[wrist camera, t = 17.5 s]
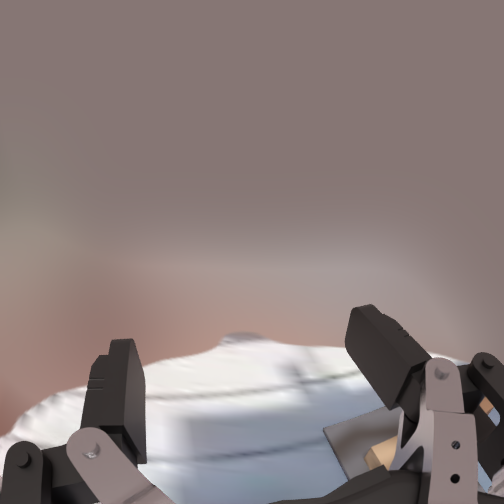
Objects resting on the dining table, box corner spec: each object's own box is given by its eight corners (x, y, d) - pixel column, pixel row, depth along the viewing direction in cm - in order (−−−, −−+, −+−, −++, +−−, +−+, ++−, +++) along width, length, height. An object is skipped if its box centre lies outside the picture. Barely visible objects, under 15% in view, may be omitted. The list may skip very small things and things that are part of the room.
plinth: (487, 500, 18) (504, 488, 16) (394, 566, 15) (409, 561, 13) (410, 396, 39) (418, 380, 38) (322, 430, 36) (327, 414, 34)
